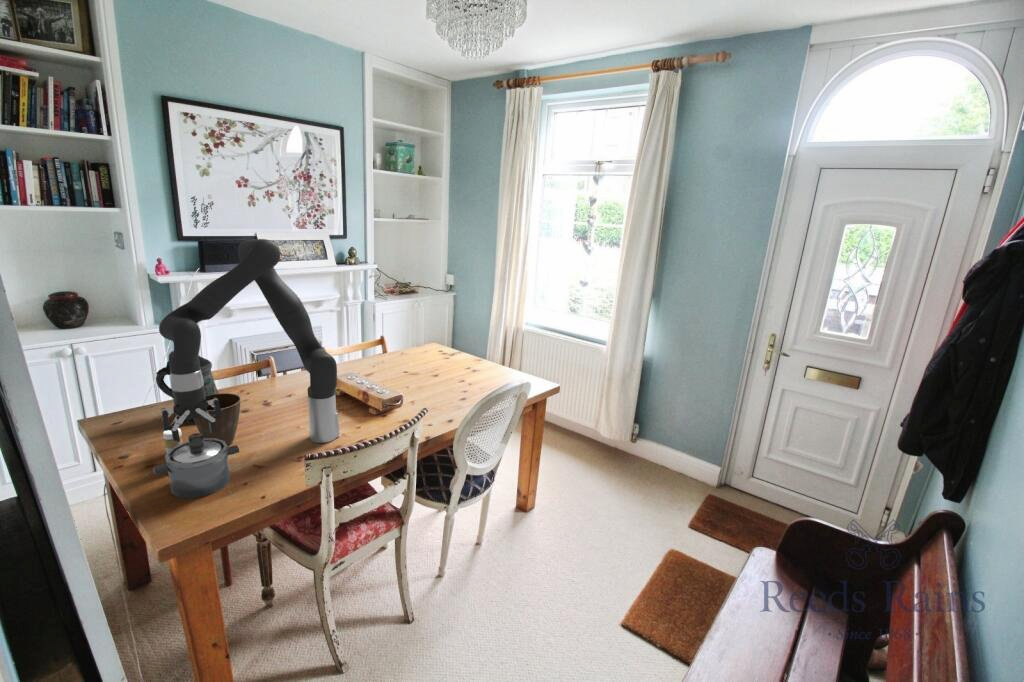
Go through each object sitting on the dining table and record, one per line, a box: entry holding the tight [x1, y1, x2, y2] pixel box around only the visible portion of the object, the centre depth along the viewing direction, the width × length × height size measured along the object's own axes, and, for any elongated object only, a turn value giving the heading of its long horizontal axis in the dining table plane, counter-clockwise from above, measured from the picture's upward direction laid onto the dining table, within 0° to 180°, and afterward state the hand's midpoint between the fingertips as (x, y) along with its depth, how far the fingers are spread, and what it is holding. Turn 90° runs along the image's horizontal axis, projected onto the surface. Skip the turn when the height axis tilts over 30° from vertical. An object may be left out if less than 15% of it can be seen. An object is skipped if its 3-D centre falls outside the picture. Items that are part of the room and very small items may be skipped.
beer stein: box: [155, 355, 220, 425], centre depth 179 cm, size 16×19×25 cm
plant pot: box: [193, 392, 241, 447], centre depth 163 cm, size 15×15×16 cm
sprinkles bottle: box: [162, 427, 183, 454], centre depth 147 cm, size 5×5×14 cm
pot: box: [152, 438, 240, 499], centre depth 141 cm, size 21×15×11 cm
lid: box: [173, 432, 222, 463], centre depth 139 cm, size 12×12×6 cm
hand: (195, 436), depth 138 cm, fingers open, 8 cm apart
